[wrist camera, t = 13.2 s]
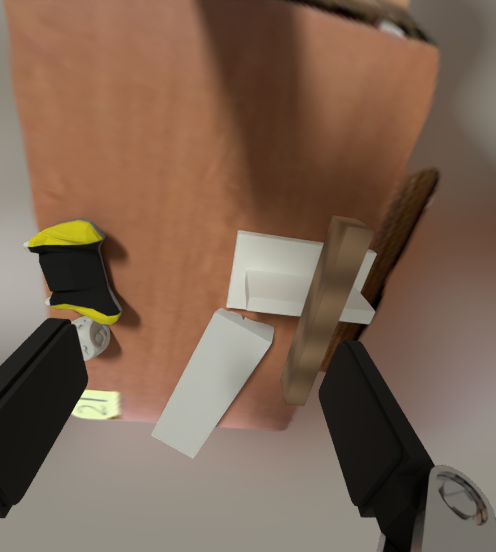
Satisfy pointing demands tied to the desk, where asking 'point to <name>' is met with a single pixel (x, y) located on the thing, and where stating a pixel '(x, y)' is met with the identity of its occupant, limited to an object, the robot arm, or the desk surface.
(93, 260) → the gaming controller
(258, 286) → the stand
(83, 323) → the die
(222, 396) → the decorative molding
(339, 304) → the walnut batten
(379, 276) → the desk surface
